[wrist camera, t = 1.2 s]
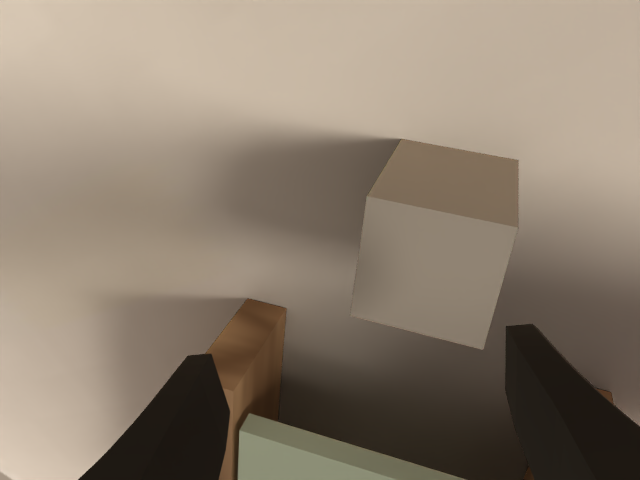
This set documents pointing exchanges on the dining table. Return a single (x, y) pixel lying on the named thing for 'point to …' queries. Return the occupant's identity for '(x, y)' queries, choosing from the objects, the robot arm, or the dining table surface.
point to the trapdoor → (316, 457)
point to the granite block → (437, 242)
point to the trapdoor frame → (256, 371)
